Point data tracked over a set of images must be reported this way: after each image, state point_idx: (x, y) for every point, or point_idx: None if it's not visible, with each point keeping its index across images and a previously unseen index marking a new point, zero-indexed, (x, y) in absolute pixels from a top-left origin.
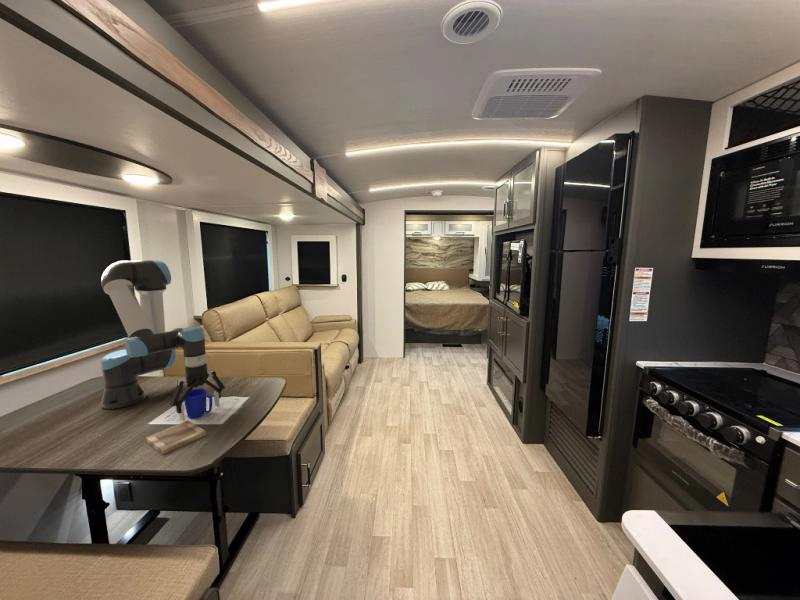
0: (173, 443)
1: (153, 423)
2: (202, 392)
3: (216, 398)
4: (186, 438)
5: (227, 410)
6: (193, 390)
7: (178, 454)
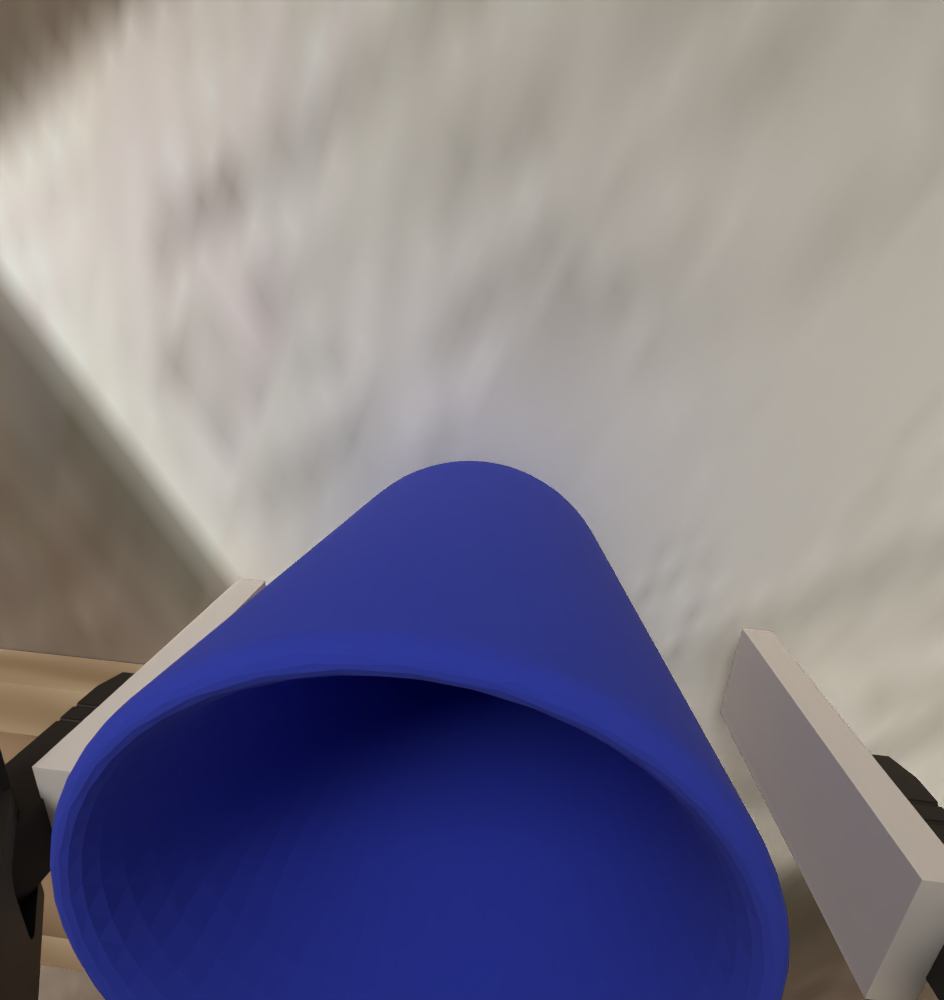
0: (56, 944)
1: (3, 264)
2: (679, 825)
3: (793, 818)
4: None
5: (741, 786)
6: (513, 699)
7: (91, 986)
